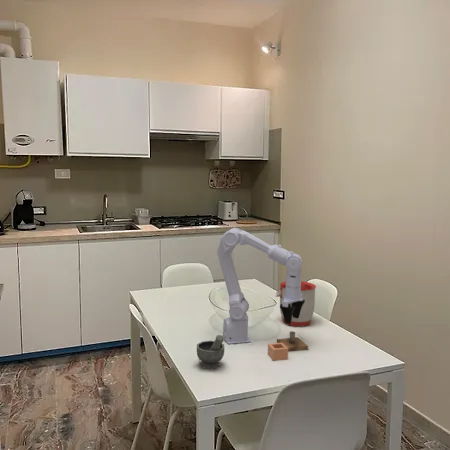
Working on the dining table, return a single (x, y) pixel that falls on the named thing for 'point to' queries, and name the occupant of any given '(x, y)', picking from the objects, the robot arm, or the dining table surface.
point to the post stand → (293, 343)
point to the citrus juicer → (307, 307)
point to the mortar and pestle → (211, 352)
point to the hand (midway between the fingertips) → (291, 320)
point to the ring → (277, 351)
